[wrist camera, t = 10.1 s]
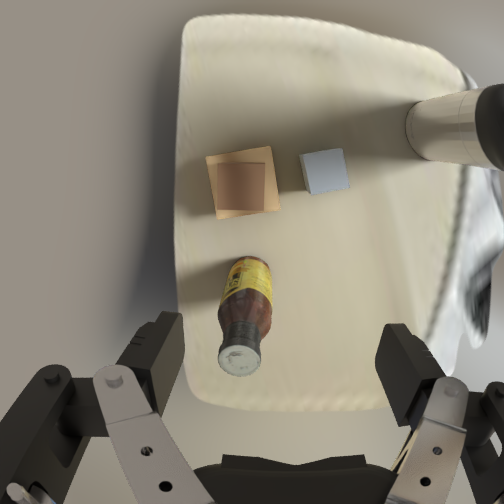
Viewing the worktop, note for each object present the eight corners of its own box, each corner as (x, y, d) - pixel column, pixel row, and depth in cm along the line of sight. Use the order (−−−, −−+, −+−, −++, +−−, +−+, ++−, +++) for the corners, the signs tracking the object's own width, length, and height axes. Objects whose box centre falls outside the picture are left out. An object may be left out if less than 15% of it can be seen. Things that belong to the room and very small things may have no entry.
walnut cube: (265, 162, 36) (265, 164, 32) (264, 203, 38) (263, 211, 33) (223, 162, 36) (217, 163, 32) (223, 202, 38) (217, 209, 33)
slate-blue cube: (333, 148, 40) (342, 148, 35) (340, 183, 41) (349, 187, 37) (298, 155, 40) (302, 155, 36) (306, 190, 42) (311, 195, 37)
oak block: (270, 146, 40) (270, 145, 36) (279, 203, 43) (280, 210, 38) (212, 156, 41) (205, 156, 36) (222, 212, 44) (217, 219, 39)
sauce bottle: (236, 249, 45) (215, 319, 26) (277, 261, 45) (284, 339, 26) (224, 288, 47) (199, 373, 28) (263, 300, 47) (260, 390, 28)
